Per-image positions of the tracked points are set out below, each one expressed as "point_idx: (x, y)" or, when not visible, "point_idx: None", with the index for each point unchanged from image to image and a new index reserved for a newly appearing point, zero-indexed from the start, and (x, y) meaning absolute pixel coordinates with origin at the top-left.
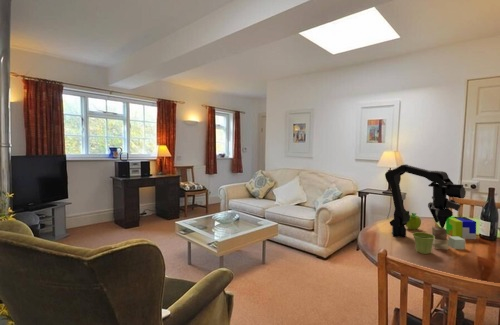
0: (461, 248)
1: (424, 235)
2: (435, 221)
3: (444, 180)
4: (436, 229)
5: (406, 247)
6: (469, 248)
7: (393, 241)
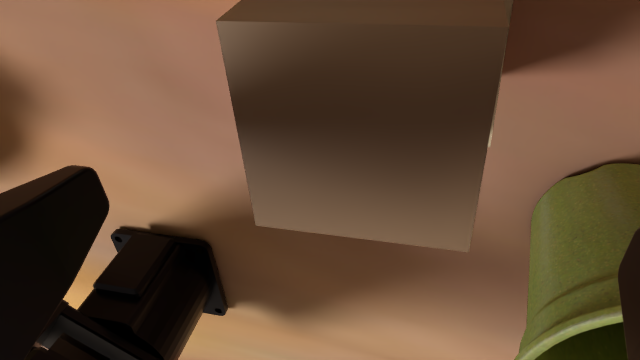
0: None
1: (537, 325)
2: (98, 230)
3: None
4: (437, 223)
5: (489, 305)
6: None
7: (352, 338)
